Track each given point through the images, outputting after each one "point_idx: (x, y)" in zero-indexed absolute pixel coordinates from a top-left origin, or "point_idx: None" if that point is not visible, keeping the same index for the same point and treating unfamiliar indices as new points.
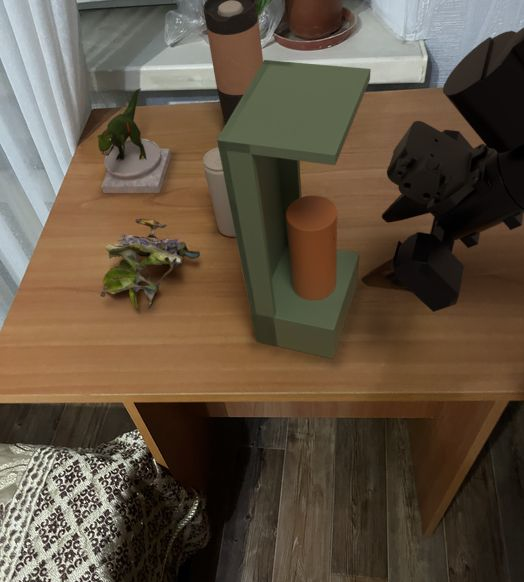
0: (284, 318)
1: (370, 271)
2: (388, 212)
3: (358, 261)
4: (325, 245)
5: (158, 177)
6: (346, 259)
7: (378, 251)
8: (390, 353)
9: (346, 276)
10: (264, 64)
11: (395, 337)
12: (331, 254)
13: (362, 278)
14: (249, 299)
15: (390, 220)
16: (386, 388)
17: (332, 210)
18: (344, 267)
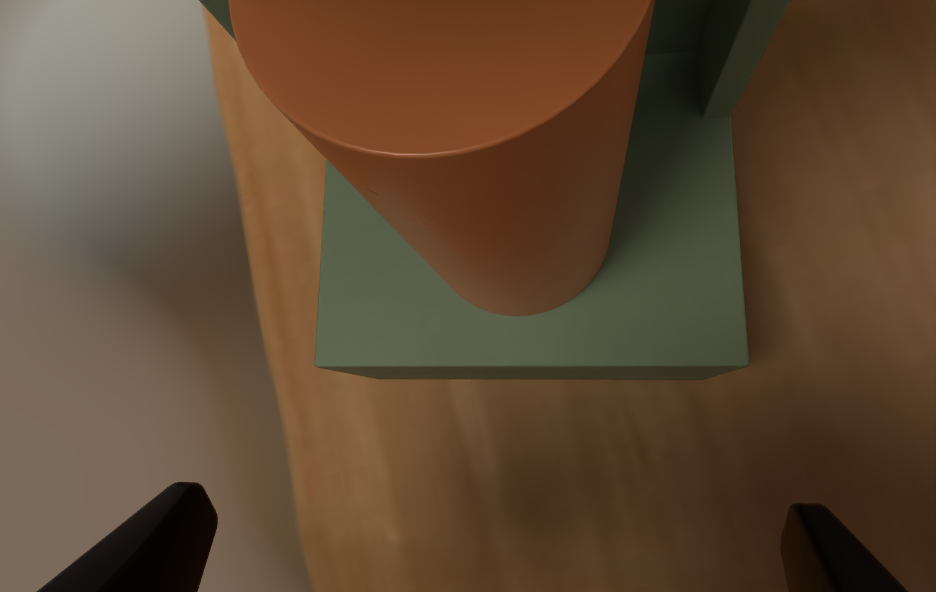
0: (328, 178)
1: (131, 550)
2: (819, 569)
3: (726, 369)
4: (356, 189)
5: None
6: (688, 319)
7: (910, 420)
8: (440, 554)
9: (590, 344)
10: None
11: (508, 560)
12: (427, 248)
13: (175, 488)
14: None
15: (791, 575)
16: (313, 563)
17: (501, 101)
18: (639, 323)
